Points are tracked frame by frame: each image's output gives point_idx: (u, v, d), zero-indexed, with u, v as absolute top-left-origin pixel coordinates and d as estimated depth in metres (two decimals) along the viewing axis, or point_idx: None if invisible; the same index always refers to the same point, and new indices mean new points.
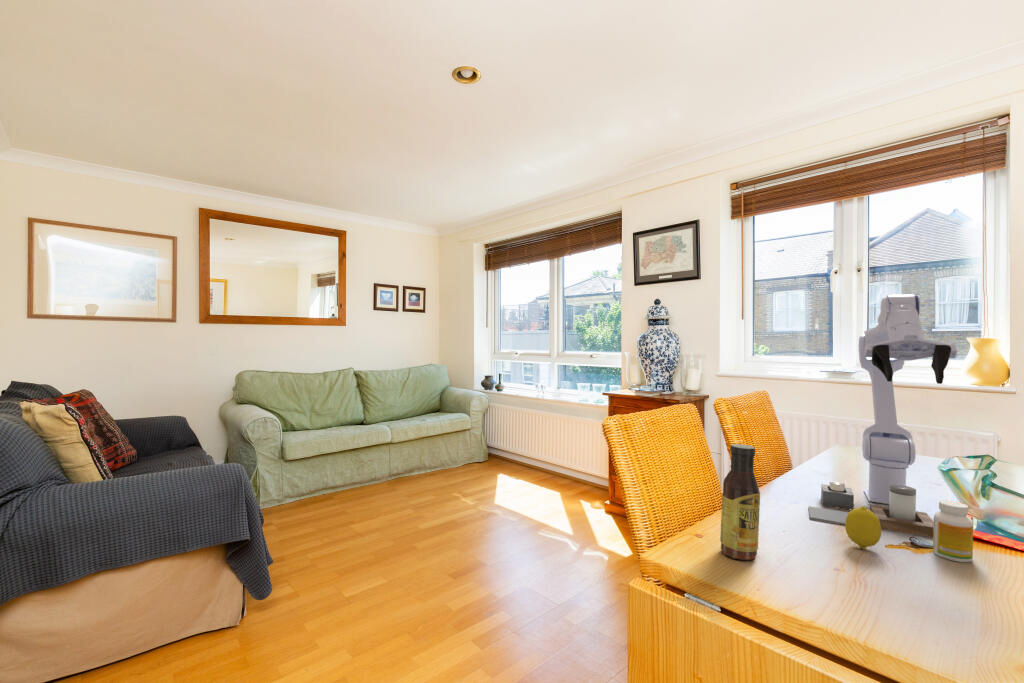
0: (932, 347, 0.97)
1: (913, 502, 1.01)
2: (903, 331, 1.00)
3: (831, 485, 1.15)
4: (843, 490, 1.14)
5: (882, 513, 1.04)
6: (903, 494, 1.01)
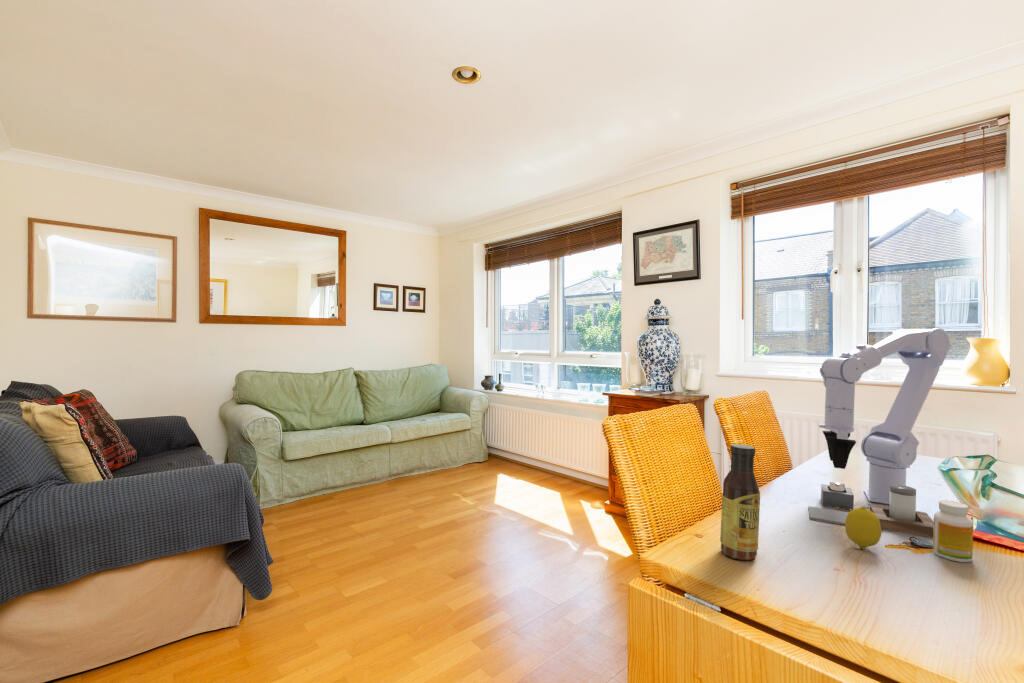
0: None
1: (913, 502, 1.01)
2: None
3: (831, 485, 1.15)
4: (843, 490, 1.14)
5: (882, 513, 1.04)
6: (903, 494, 1.01)
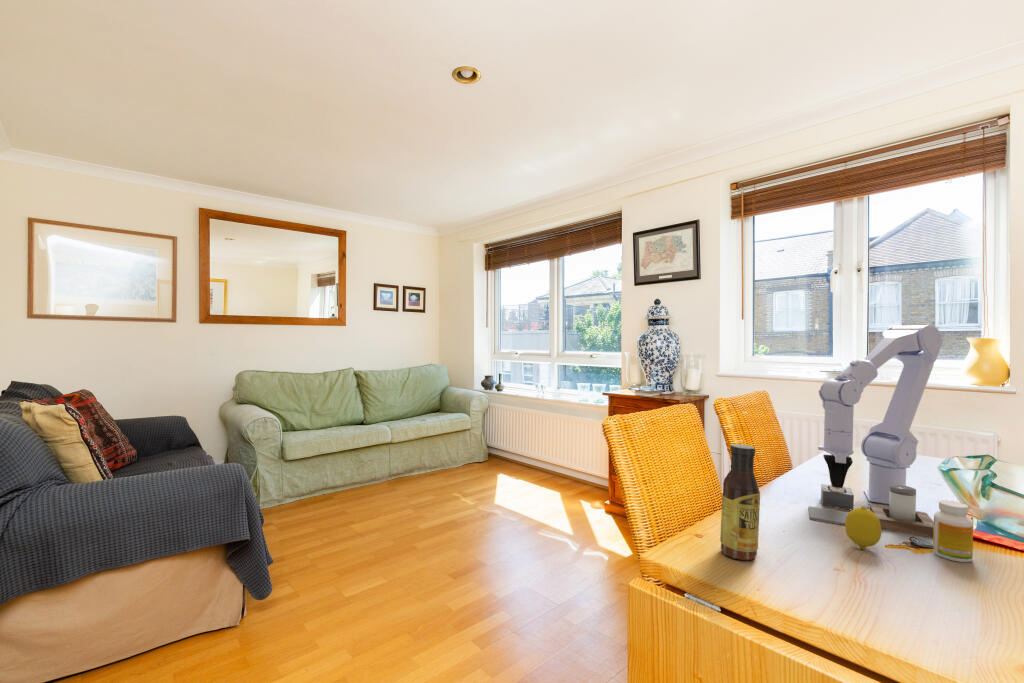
0: None
1: (913, 502, 1.01)
2: None
3: (831, 488, 1.15)
4: None
5: (882, 513, 1.04)
6: (903, 494, 1.01)
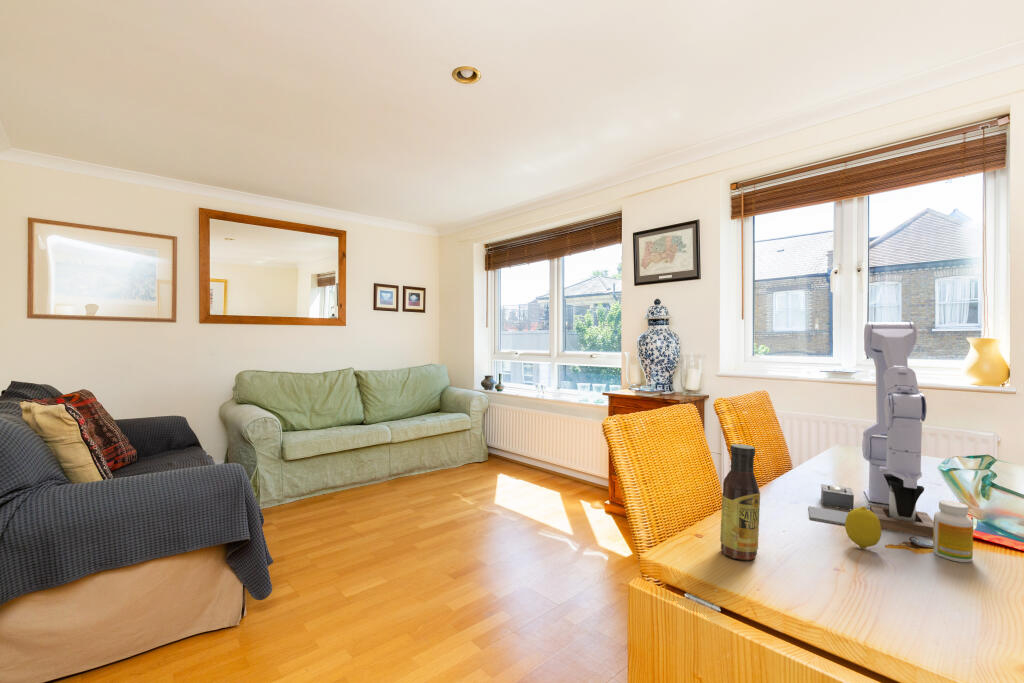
0: None
1: None
2: None
3: (831, 490, 1.15)
4: None
5: (882, 513, 1.04)
6: None
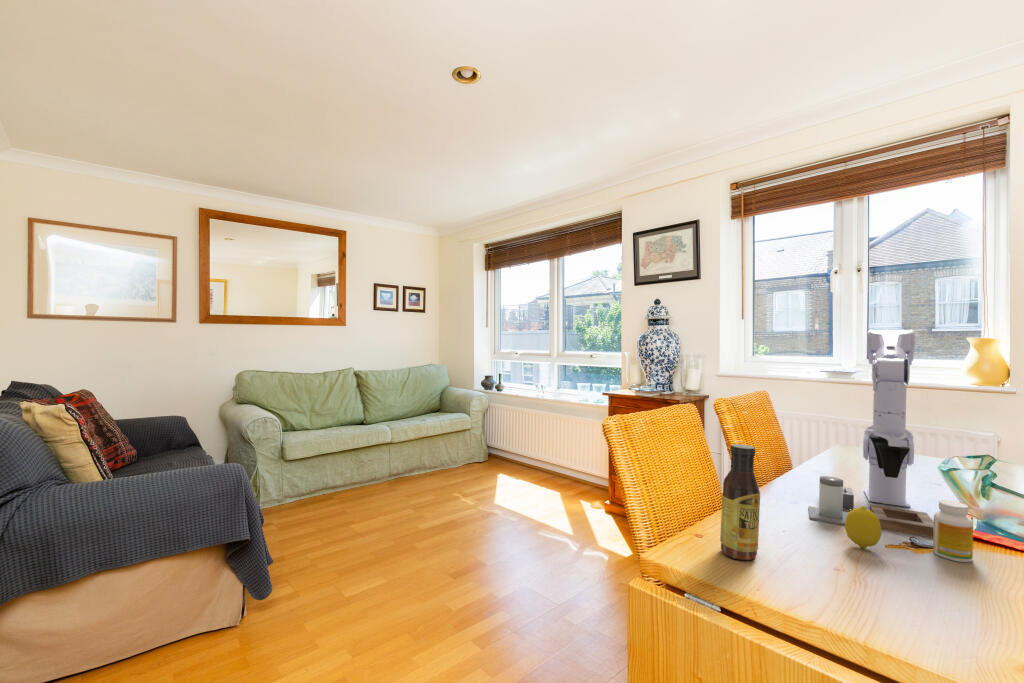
0: None
1: (840, 493, 1.05)
2: None
3: None
4: None
5: (882, 513, 1.04)
6: (830, 485, 1.05)
